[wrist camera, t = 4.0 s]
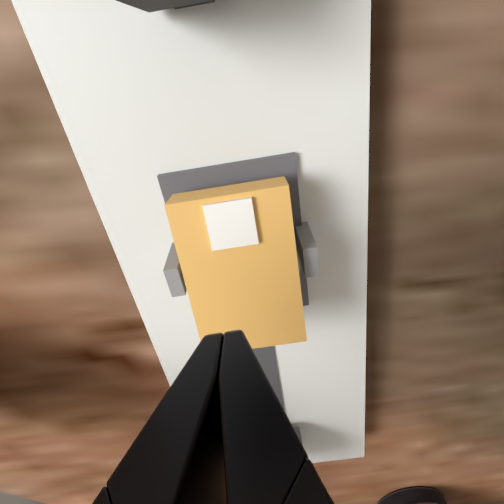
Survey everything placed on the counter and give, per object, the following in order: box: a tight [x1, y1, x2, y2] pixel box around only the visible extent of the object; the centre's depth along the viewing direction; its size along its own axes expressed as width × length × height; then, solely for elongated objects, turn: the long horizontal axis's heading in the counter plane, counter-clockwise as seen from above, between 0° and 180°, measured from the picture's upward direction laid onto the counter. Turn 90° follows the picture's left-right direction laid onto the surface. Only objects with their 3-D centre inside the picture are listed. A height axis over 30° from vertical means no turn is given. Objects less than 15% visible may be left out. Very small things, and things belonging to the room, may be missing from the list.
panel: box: [11, 0, 371, 463], centre depth 18 cm, size 12×35×4 cm, turn 9°
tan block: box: [164, 176, 307, 349], centre depth 15 cm, size 5×7×2 cm
